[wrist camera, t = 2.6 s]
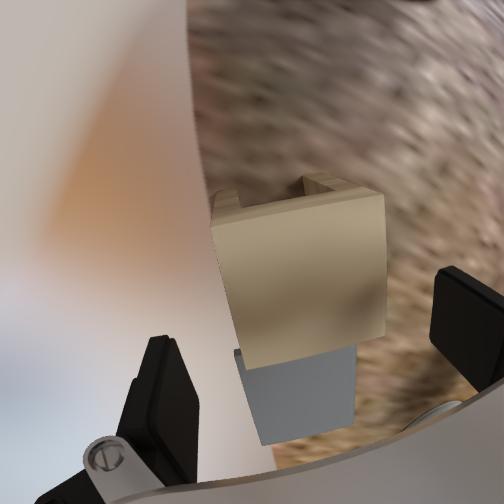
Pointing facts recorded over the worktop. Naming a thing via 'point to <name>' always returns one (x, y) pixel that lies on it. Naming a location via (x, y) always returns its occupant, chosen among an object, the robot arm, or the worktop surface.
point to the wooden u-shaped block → (303, 269)
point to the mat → (301, 395)
